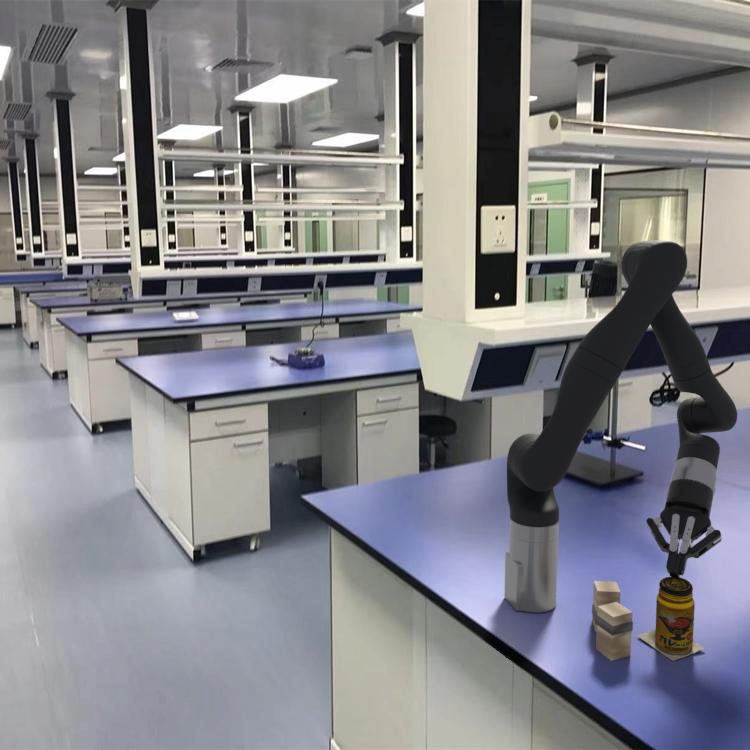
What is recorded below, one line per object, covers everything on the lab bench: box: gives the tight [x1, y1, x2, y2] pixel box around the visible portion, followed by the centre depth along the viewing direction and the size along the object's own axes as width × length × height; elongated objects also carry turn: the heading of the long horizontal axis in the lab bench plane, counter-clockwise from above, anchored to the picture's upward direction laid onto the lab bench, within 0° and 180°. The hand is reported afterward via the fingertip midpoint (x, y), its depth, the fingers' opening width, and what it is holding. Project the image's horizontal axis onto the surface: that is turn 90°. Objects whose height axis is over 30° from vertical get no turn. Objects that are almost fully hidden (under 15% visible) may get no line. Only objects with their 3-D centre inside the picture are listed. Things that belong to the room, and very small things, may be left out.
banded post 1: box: [591, 580, 621, 633], centre depth 135 cm, size 4×4×8 cm
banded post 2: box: [595, 602, 634, 662], centre depth 126 cm, size 4×4×8 cm
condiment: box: [636, 576, 706, 662], centre depth 128 cm, size 7×8×12 cm
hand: (674, 575), depth 127 cm, fingers closed
